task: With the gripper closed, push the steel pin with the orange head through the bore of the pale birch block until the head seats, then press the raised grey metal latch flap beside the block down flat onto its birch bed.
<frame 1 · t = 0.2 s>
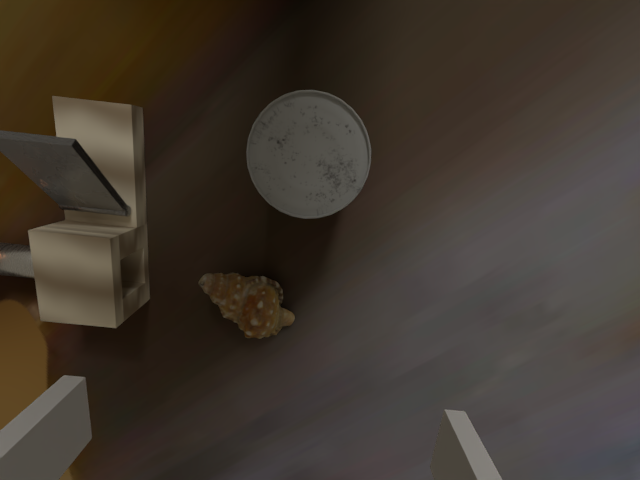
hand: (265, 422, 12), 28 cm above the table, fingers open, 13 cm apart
grey stone cylinder: (313, 155, 37), on the table
latch flap: (69, 179, 31), point 6 cm above the table, hinge at 45.0°
seashell: (252, 294, 41), on the table
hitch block: (116, 259, 40), on the table
pin: (25, 261, 36), point 3 cm above the table, slide at -9.0 cm
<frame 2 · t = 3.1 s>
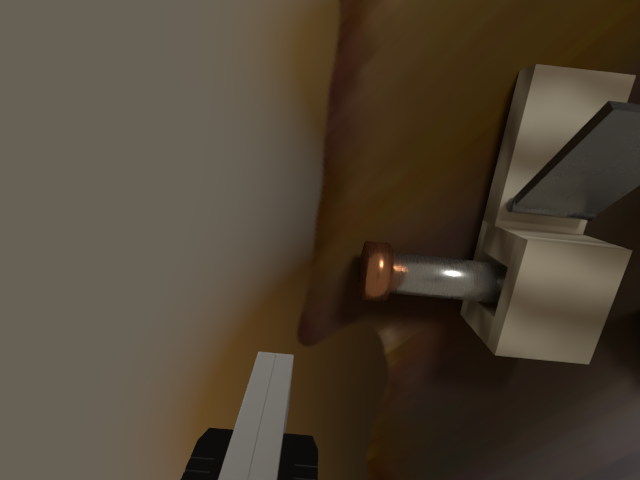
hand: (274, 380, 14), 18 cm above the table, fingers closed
latch flap: (595, 172, 23), point 6 cm above the table, hinge at 45.0°
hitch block: (510, 273, 32), on the table
pin: (441, 277, 29), point 3 cm above the table, slide at -9.0 cm
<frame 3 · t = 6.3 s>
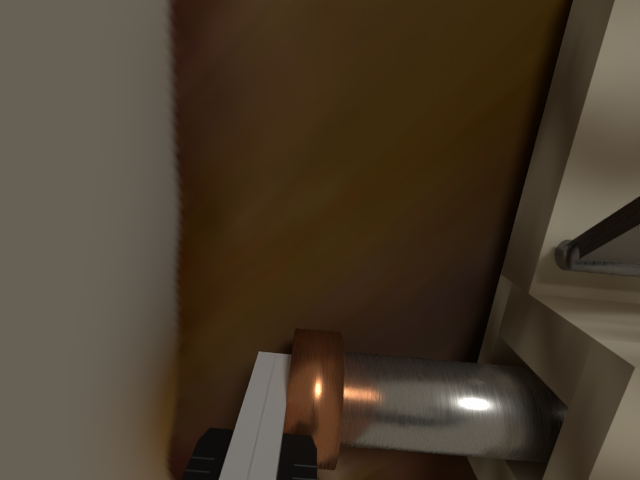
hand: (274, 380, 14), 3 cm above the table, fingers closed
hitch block: (551, 368, 17), on the table
pin: (451, 405, 14), point 3 cm above the table, slide at -7.5 cm, touching gripper
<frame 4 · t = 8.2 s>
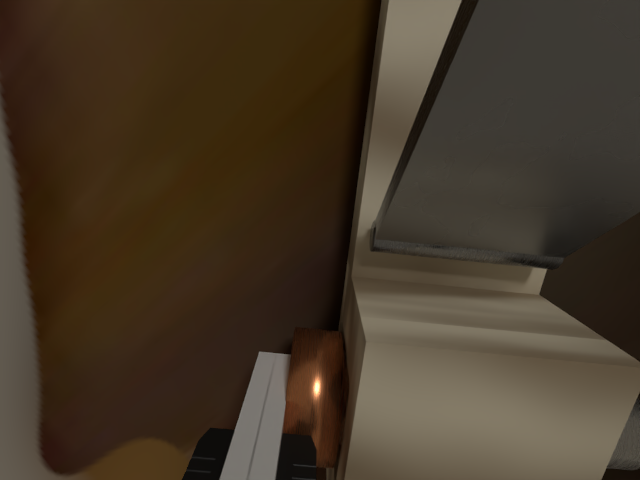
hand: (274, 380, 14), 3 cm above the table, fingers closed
latch flap: (545, 157, 8), point 6 cm above the table, hinge at 45.0°
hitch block: (411, 355, 17), on the table
pin: (450, 404, 14), point 3 cm above the table, slide at 0.0 cm, touching gripper
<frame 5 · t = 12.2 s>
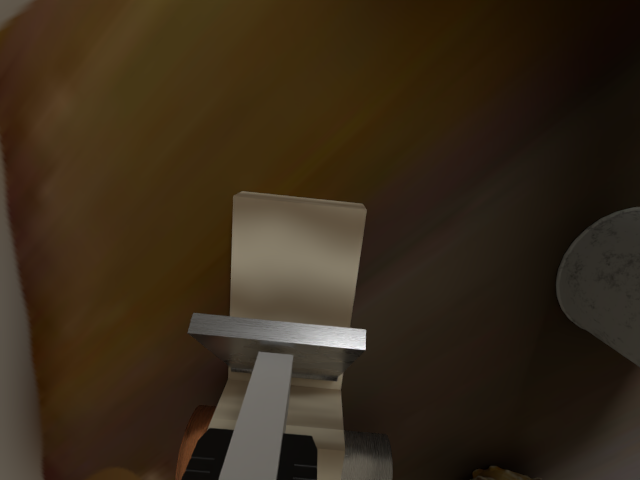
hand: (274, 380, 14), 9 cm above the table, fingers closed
grey stone cylinder: (622, 272, 23), on the table
latch flap: (283, 354, 17), point 6 cm above the table, hinge at 44.7°, touching gripper
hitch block: (283, 416, 26), on the table
pin: (289, 454, 23), point 3 cm above the table, slide at 0.0 cm
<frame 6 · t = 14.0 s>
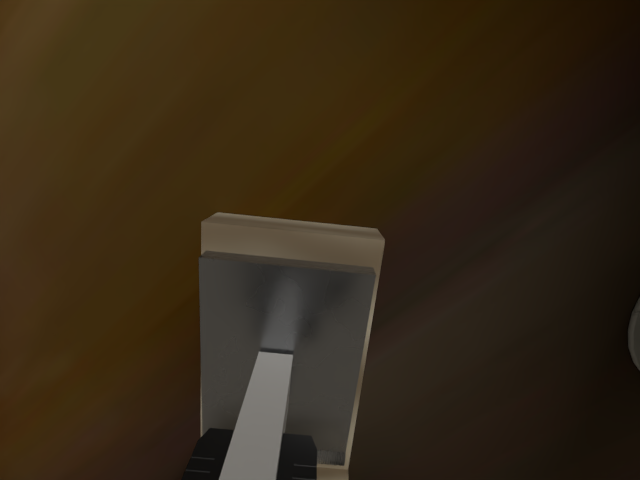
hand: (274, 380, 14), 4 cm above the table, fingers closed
latch flap: (280, 369, 15), point 3 cm above the table, hinge at 3.0°, touching gripper
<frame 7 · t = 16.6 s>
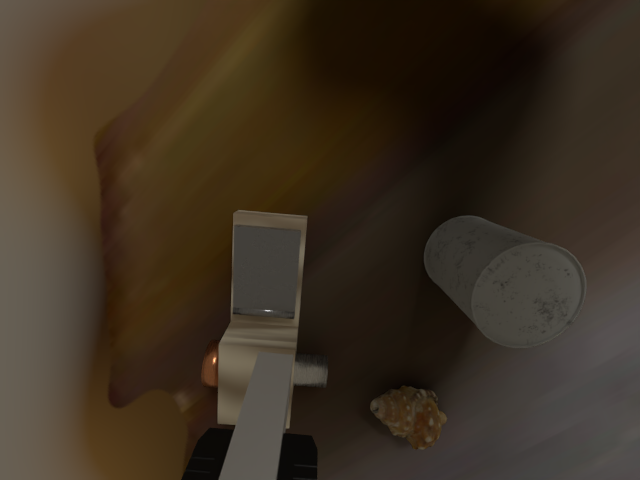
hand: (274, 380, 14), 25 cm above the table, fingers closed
grey stone cylinder: (462, 254, 39), on the table
latch flap: (266, 273, 36), point 3 cm above the table, hinge at 3.0°
seashell: (402, 399, 44), on the table
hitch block: (265, 350, 42), on the table
pin: (268, 366, 38), point 3 cm above the table, slide at 0.0 cm
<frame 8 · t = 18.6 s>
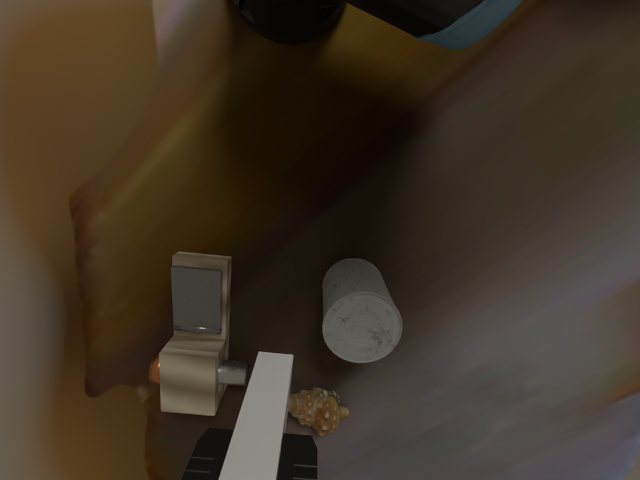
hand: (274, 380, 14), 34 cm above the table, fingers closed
grey stone cylinder: (352, 286, 50), on the table
latch flap: (197, 301, 47), point 3 cm above the table, hinge at 3.0°
seashell: (316, 397, 56), on the table
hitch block: (204, 356, 54), on the table
pin: (202, 369, 50), point 3 cm above the table, slide at 0.0 cm
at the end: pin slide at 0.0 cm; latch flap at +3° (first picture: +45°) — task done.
